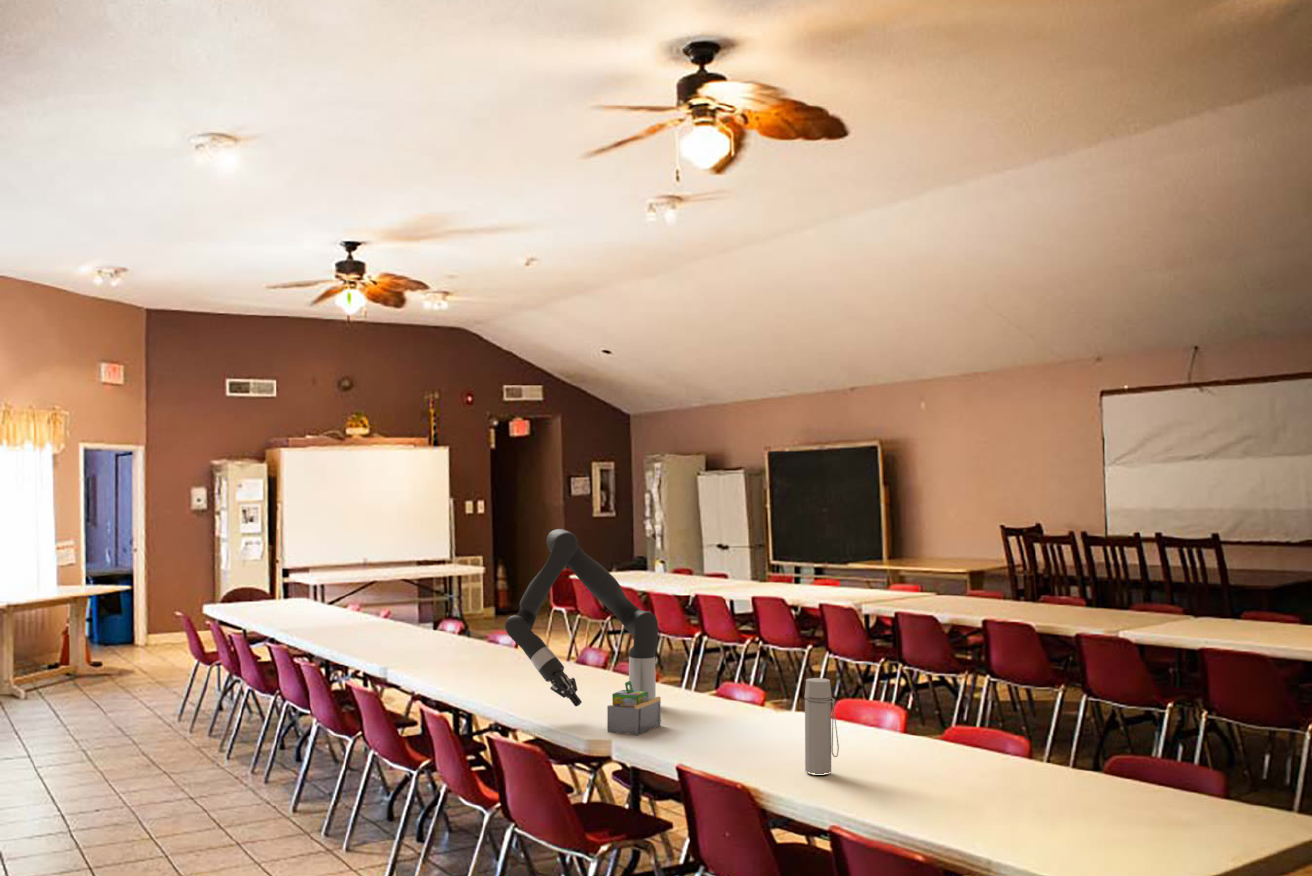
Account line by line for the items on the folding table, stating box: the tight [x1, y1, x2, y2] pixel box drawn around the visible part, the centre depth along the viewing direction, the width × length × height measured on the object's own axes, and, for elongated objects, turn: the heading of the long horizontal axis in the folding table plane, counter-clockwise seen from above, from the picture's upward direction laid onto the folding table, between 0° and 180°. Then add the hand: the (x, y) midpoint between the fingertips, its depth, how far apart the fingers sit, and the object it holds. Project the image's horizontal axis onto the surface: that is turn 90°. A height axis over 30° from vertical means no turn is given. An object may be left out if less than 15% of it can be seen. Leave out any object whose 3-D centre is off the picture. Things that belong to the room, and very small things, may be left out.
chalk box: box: [611, 680, 648, 708], centre depth 365 cm, size 9×9×15 cm
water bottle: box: [804, 677, 840, 774], centre depth 308 cm, size 9×8×25 cm
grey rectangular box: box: [606, 696, 662, 736], centre depth 365 cm, size 16×11×9 cm
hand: (579, 704), depth 374 cm, fingers closed
